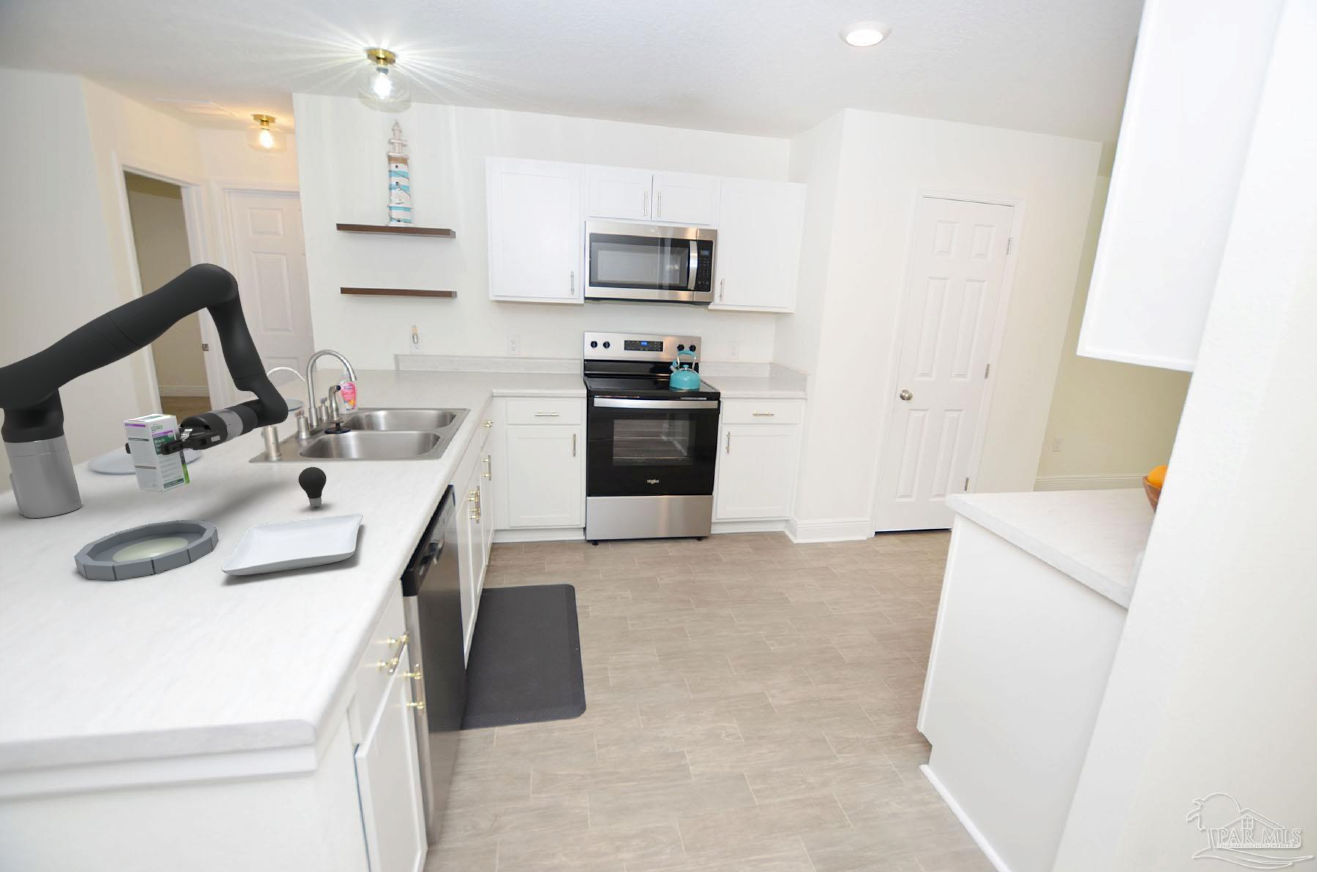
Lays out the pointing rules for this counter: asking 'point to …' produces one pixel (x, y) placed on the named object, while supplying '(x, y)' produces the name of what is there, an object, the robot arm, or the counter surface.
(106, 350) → the robot arm
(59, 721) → the counter surface
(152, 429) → the syrup box
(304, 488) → the light bulb
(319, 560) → the salad plate
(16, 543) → the counter surface
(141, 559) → the round tray
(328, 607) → the counter surface
